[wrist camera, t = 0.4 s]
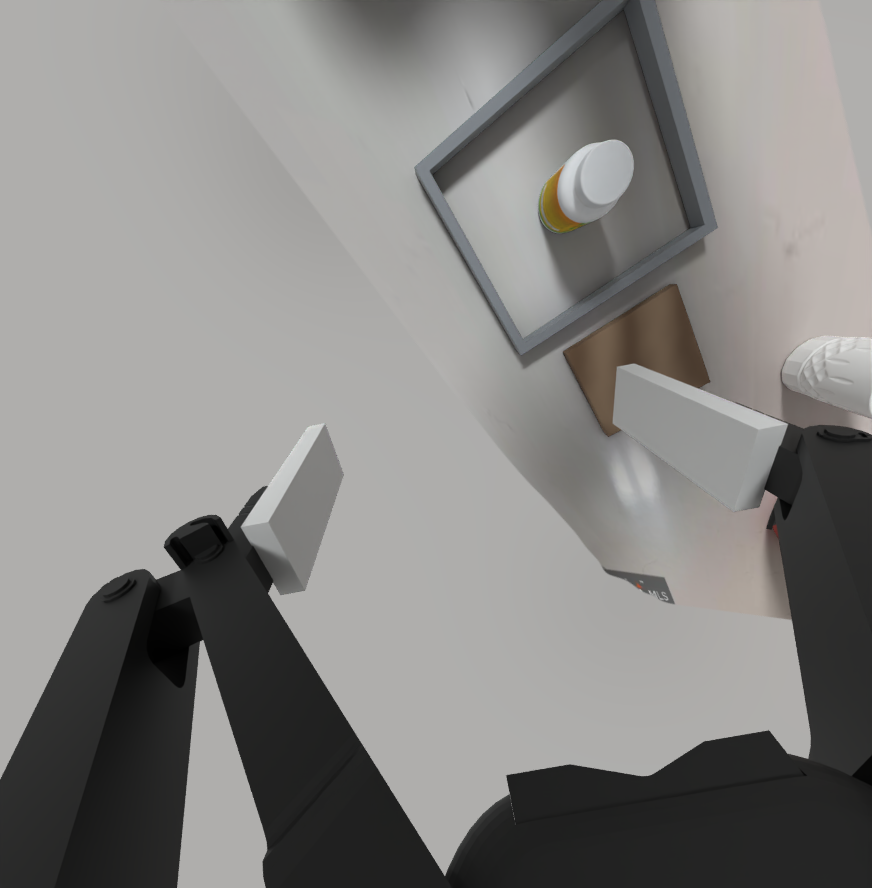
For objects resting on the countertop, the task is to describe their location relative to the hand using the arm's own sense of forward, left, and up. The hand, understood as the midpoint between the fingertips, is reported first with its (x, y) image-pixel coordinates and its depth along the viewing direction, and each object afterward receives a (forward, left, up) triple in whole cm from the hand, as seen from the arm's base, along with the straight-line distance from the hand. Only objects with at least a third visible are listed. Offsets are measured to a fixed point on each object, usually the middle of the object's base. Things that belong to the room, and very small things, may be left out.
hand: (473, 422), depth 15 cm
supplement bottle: (-13, +11, -27) cm, 32 cm away
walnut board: (+3, +23, -27) cm, 35 cm away
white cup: (+3, +44, -27) cm, 52 cm away
